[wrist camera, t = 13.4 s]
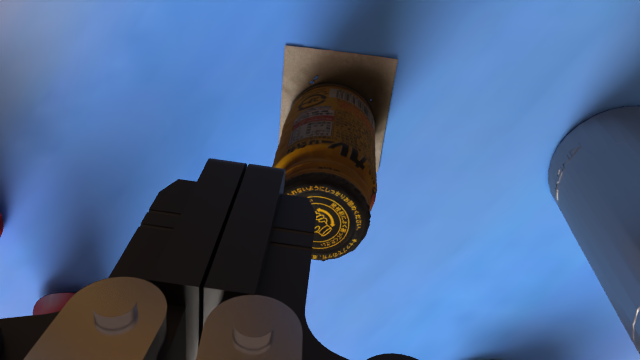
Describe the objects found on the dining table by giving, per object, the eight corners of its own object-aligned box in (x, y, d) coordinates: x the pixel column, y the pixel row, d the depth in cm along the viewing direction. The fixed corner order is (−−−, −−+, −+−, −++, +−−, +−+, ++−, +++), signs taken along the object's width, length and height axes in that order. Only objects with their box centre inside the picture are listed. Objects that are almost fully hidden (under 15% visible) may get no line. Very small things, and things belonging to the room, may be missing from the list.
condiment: (277, 158, 39) (248, 266, 29) (285, 44, 35) (253, 125, 25) (377, 170, 39) (383, 282, 29) (397, 57, 35) (412, 143, 25)
